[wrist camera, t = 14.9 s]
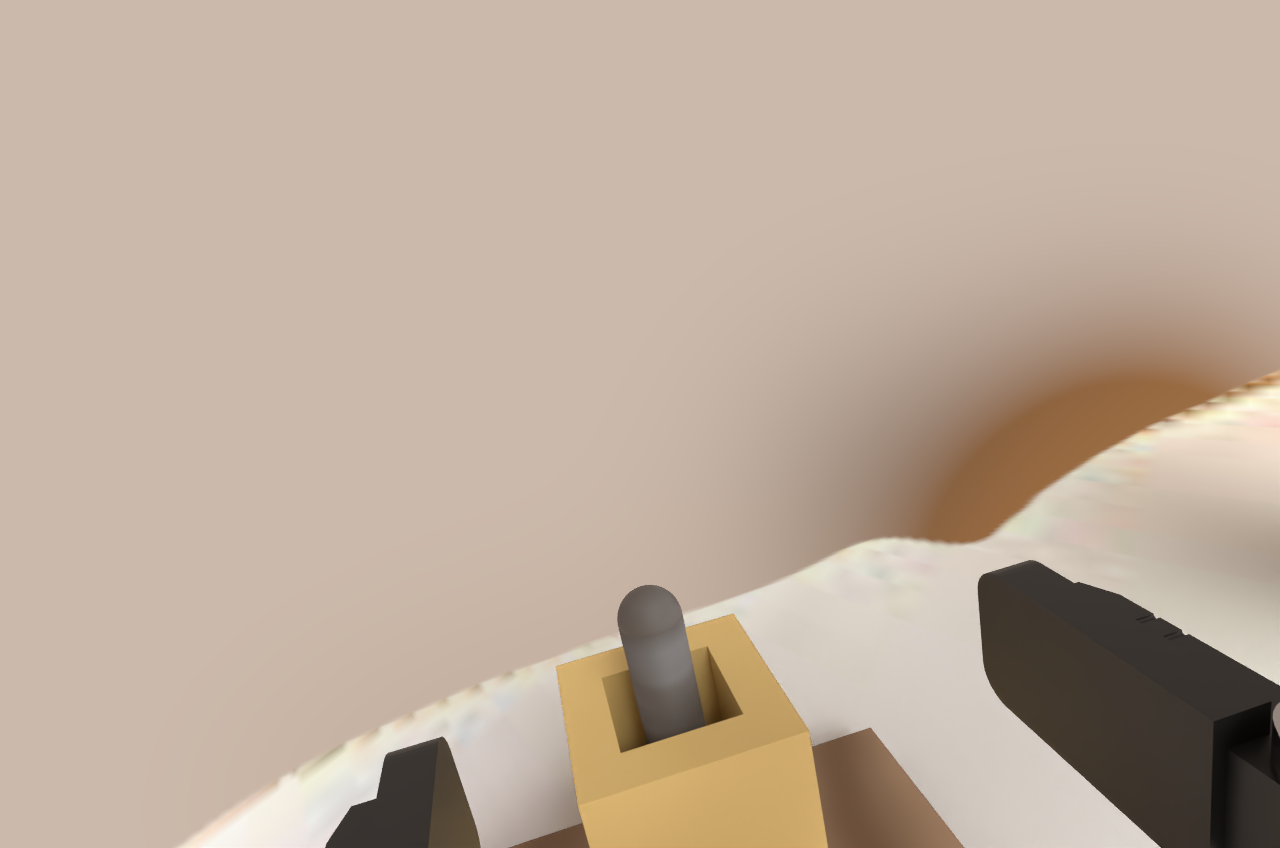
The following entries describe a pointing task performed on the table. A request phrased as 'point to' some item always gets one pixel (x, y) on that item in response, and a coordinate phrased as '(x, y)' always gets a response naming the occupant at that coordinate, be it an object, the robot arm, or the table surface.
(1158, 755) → the robot arm
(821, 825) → the bead
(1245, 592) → the table surface
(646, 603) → the spindle stand
